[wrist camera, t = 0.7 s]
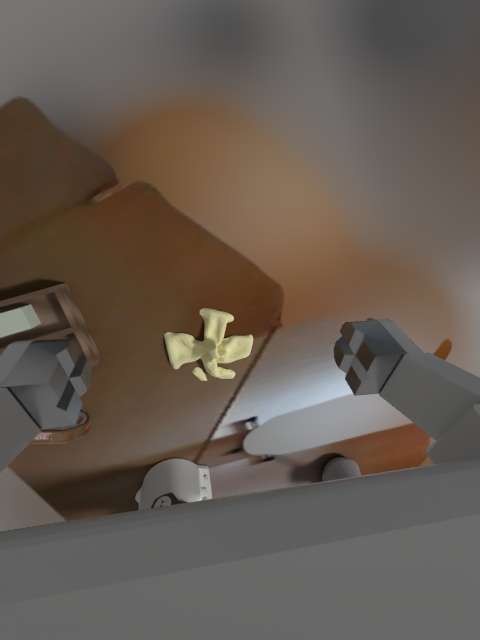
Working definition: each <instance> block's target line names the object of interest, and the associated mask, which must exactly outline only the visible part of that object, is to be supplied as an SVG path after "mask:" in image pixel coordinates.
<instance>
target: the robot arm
mask: <svg viewBox="0 0 480 640" xmlns="http://www.w3.org/2000/svg"><path fill="white" fill-rule="evenodd" d="M340 333H341V334H342V337H341V338H340V339H338V340H337V341H336V343H335V347H334V358H335V361H336V364H337V365H338V367H339V369H341V370H342V371H344V372H345V373H346V377H345V380H346V381H347V383H348V385H349V386H350V388H351V390H352V392H353V393H354V395H368V394H379V395H380V396H381V397H382V398H384V399H385V400H386V401H387V402H389V403H390V404H391V405H392V406H394V407H395V408H396V409H398V410H399V411H400V412H401V413H402V414H404V415H405V416H406V417H408V418H409V419H410V420H411V421H412V422H414V423H415V424H416V425H417V426H419V427H420V428H421V429H422V430H424V431H425V432H426V433H427V434H429V435H430V436H431V437H432V438H434V439H435V440H436V442H434V443H433V444H432V445H431V446H430V447H429V448H428V450H427V455H428V457H429V458H430V460H431V461H432V462H433V464H434V465H428V466H421V467H415V468H408V469H402V470H395V471H389V472H383V473H376V474H370V475H363V476H357V477H350V478H344V479H337V480H331V481H324V482H318V483H311V484H305V485H298V486H292V487H286V488H279V489H273V490H266V491H260V492H253V493H247V494H240V495H234V496H227V497H221V498H215V499H213V498H212V490H211V482H210V474H209V468H208V467H207V466H204V465H197V464H194V463H192V462H190V461H188V460H185V459H169V460H165V461H162V462H160V463H158V464H157V465H155V466H154V467H152V468H151V469H150V470H149V472H148V473H147V474H146V476H145V478H144V481H143V484H142V487H141V488H140V489H139V490H138V491H137V493H136V495H135V500H136V501H137V502H138V503H139V510H137V511H131V512H124V513H118V514H111V515H105V516H98V517H92V518H86V519H79V520H73V521H66V522H61V523H54V524H47V525H41V526H34V527H27V528H22V529H15V530H8V531H2V532H0V640H480V378H479V377H477V376H475V375H473V374H471V373H469V372H467V371H465V370H463V369H461V368H459V367H456V366H455V365H453V364H451V363H449V362H447V361H445V360H443V359H441V358H439V357H436V356H434V355H432V354H430V353H424V352H423V351H422V350H421V349H420V348H419V347H418V346H417V345H416V344H415V343H414V342H413V341H412V340H411V339H410V338H409V337H408V335H407V334H406V333H405V332H404V331H403V330H402V329H401V328H400V327H399V326H398V325H397V324H396V323H395V322H394V321H393V320H390V319H380V320H370V321H356V322H345V323H344V324H343V325H342V328H341V330H340ZM81 350H82V347H81V345H80V343H79V341H78V340H76V339H51V340H35V341H15V342H13V343H11V344H9V345H8V346H7V348H6V349H5V350H4V352H3V353H2V354H1V356H0V473H1V472H2V471H3V470H4V469H5V468H6V467H7V466H8V465H9V464H10V463H11V462H12V461H13V460H14V459H15V458H16V456H17V455H18V454H19V453H20V452H21V451H22V450H23V449H24V448H25V447H26V446H27V445H28V444H29V443H30V442H31V441H32V440H33V439H34V438H35V437H36V436H37V435H38V434H39V433H40V432H41V430H40V429H48V428H56V427H63V426H71V425H75V424H76V421H77V418H78V415H79V413H80V410H81V407H82V404H83V403H82V401H81V400H80V398H79V397H80V396H82V395H83V394H84V393H85V392H86V391H87V390H88V387H89V384H90V378H91V370H90V365H89V363H88V360H87V359H86V358H84V357H83V356H81V355H80V352H81Z"/></svg>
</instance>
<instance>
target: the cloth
mask: <svg viewBox="0 0 480 640" xmlns="http://www.w3.org/2000/svg"><path fill="white" fill-rule="evenodd" d="M199 314H201V315H202V317H203V319H204V323H205V330H204V341H202V342H201V341H197V340H195V339H194V337H193V336H191V335H189V334H184V333H170V332H167V333H165V334H164V337H165V342H166V347H167V351H168V355H169V360H170V363H171V365H172V367H173V368H174V369H178V368H179V367H180V366H181V365H182V364H184V363H187V362H193V361H196V360H198V359H202V362H203V365H204V367H205V369H206V371H207V372H208V373H209V374H210V375H211V376H214V377H219V378H221V379H229V378H234V376H235V372H234V371H232V370H231V369H225V368H222V367H217V363H230V362H233V361H235V360H238V359H242V358H245V357H247V356H249V354H250V351H251V348H252V344H253V336H252V335H246V336H239V335H233V336H230V337H228V338H223V337H224V333H225V329H226V324H227V323H228V322H232V321H233V320H234V318H233V316H232V315H231V314H229V313H226V312H222V311H218V310H213V309H207V308H206V309H202V310H200V313H199ZM192 373H193V374H194V375H195V376H196V377H198V378H199V379H200V380H204V381H207V379H206V377H205V374H204V373H203V369H201V368H198V367H197V368H195V369H194V370H193V372H192Z"/></svg>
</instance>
